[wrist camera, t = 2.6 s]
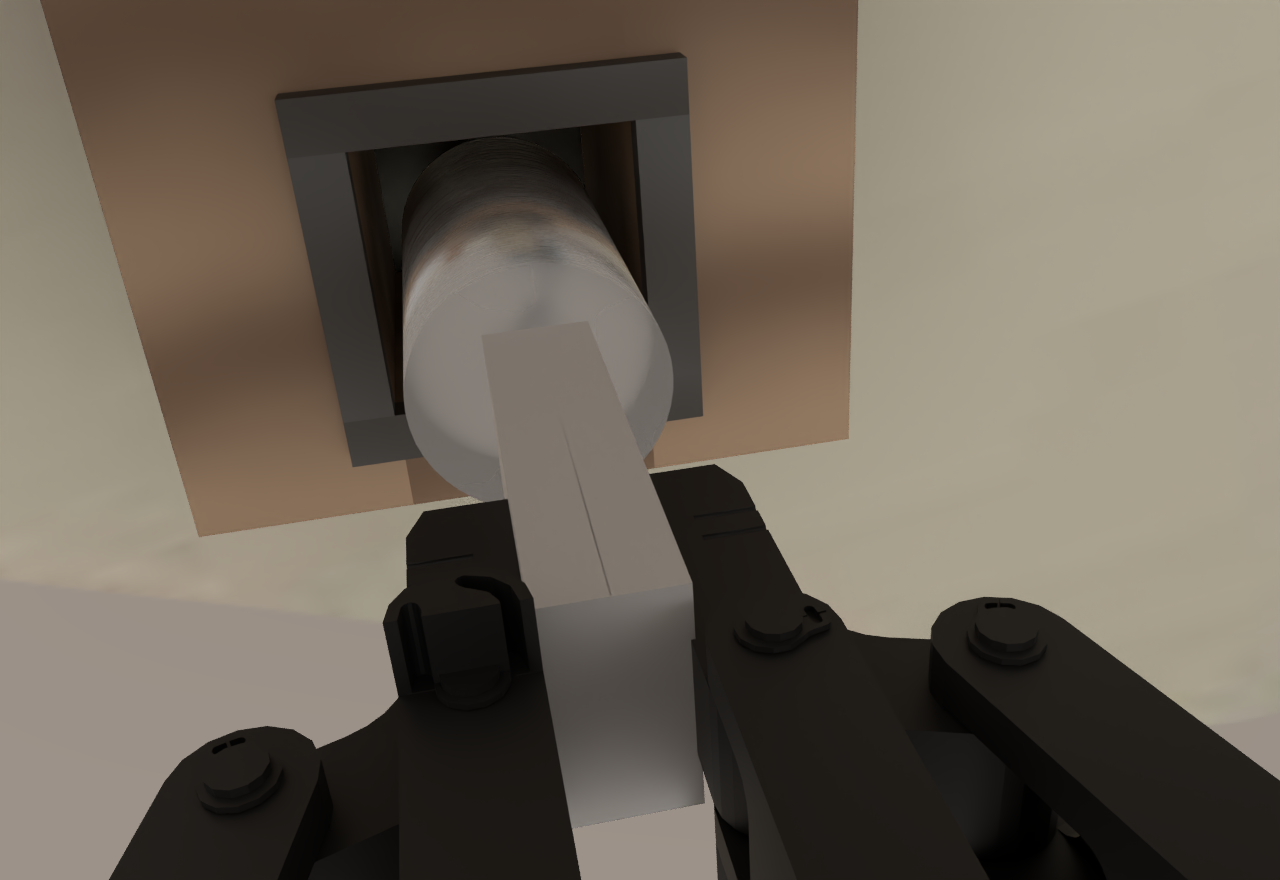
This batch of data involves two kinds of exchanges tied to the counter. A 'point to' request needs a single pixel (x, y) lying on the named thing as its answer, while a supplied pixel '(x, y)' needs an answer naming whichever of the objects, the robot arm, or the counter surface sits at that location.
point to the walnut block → (358, 234)
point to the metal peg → (511, 298)
